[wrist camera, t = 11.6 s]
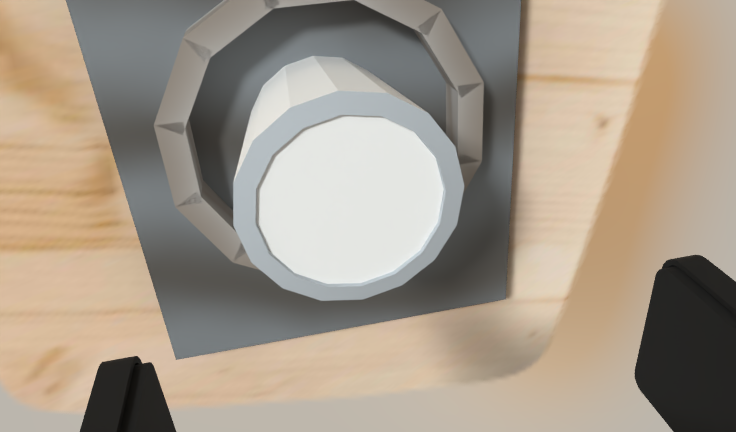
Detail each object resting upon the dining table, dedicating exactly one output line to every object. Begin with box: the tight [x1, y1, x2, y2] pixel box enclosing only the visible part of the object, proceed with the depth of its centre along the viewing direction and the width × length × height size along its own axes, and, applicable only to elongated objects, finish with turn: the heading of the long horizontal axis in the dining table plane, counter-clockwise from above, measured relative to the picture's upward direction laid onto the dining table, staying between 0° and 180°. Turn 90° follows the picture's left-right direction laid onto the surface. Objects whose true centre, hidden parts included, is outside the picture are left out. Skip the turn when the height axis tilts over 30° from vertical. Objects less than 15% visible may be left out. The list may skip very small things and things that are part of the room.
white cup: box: [233, 56, 464, 301], centre depth 20 cm, size 7×7×7 cm
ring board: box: [66, 0, 521, 360], centre depth 23 cm, size 20×16×3 cm
